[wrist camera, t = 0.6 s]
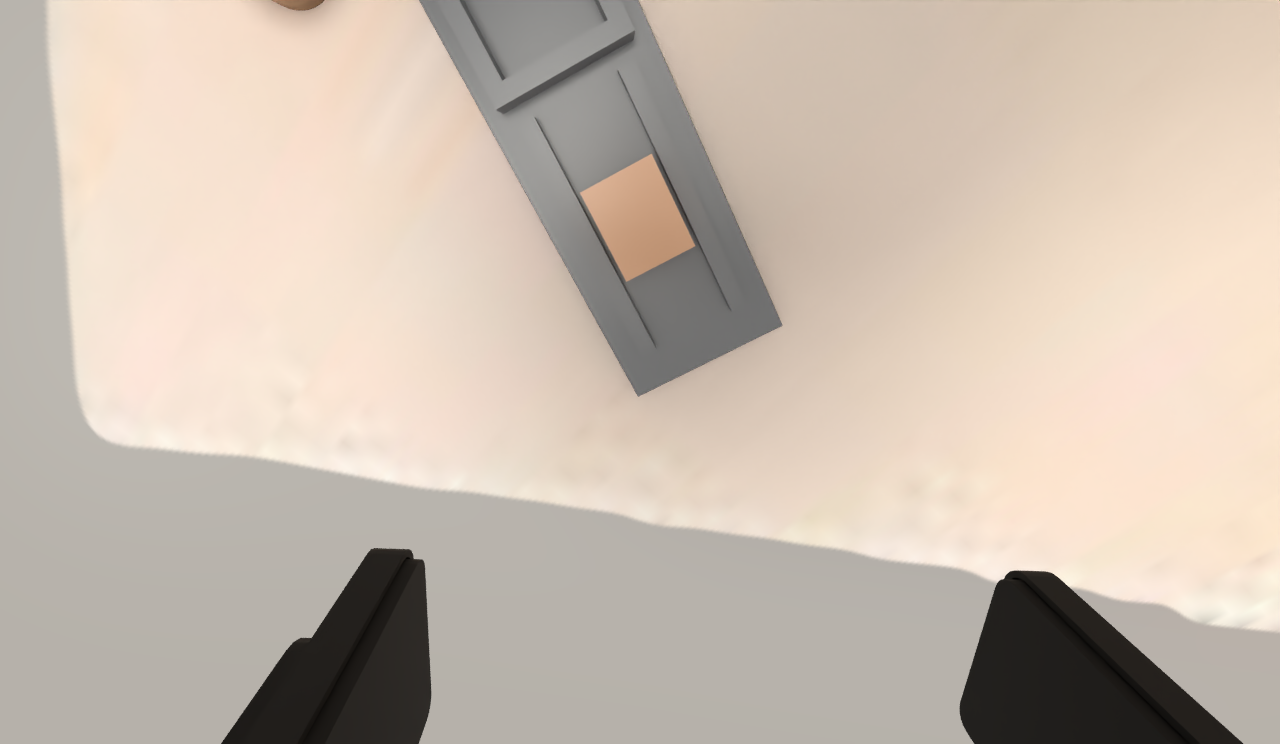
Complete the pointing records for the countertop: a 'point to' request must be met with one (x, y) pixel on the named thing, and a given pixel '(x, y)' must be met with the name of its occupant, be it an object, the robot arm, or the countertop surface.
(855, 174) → the countertop surface
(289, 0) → the brown round pin
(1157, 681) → the robot arm
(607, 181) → the cardboard brown cuboid
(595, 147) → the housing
